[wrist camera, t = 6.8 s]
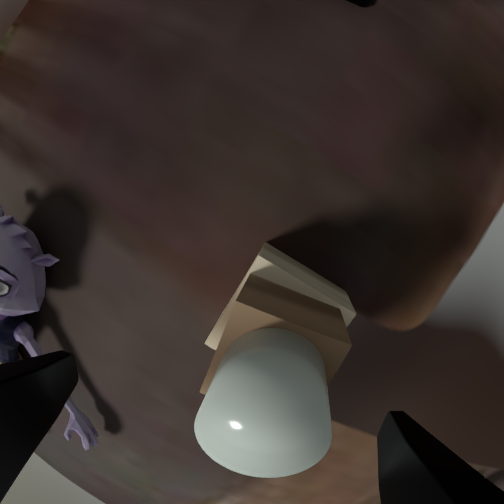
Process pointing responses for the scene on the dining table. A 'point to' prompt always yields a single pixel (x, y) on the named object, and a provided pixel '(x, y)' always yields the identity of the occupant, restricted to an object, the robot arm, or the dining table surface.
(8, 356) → the toy
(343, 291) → the base block
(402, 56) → the dining table surface
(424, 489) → the robot arm
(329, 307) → the top block
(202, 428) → the grey rounded cylinder
